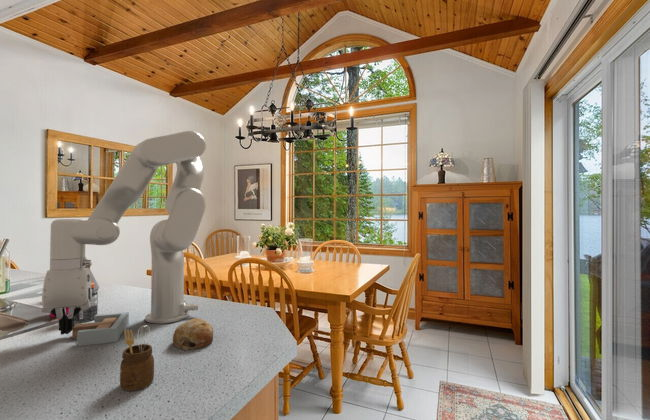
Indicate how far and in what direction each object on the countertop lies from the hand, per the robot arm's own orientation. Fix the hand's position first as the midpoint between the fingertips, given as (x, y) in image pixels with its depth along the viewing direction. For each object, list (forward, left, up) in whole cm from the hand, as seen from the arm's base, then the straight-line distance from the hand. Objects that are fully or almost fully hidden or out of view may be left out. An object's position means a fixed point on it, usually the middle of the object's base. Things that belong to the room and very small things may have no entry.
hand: (66, 332), depth 89 cm
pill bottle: (0, -16, -2) cm, 16 cm away
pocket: (-9, 0, -1) cm, 9 cm away
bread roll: (-33, +13, -2) cm, 35 cm away
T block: (-6, 0, -1) cm, 6 cm away
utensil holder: (-23, +33, -2) cm, 40 cm away
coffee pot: (+10, -44, -2) cm, 45 cm away
